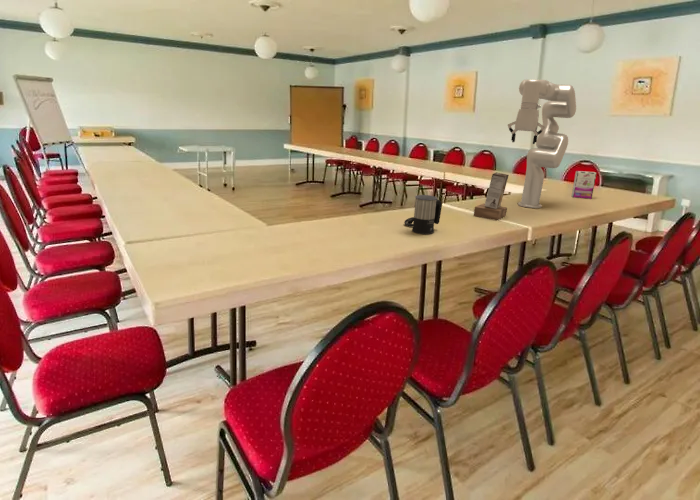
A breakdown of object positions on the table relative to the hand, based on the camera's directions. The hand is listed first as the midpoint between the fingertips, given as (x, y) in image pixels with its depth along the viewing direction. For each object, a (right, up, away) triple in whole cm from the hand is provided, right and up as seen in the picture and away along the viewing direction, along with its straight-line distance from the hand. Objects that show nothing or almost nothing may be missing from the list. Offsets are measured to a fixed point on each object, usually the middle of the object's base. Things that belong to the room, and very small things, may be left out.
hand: (523, 142), depth 233 cm
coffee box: (-16, -32, -1) cm, 35 cm away
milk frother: (-57, -44, -31) cm, 78 cm away
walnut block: (-17, -36, +1) cm, 40 cm away
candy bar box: (+61, -20, +66) cm, 92 cm away
